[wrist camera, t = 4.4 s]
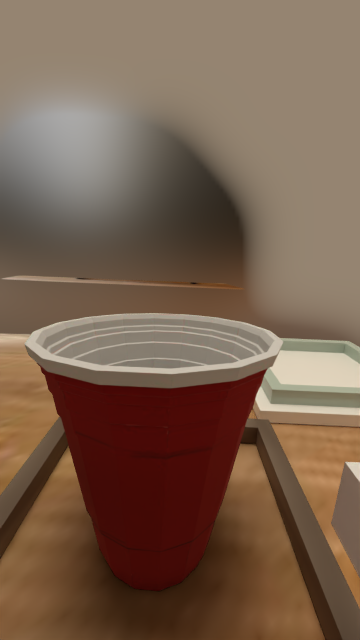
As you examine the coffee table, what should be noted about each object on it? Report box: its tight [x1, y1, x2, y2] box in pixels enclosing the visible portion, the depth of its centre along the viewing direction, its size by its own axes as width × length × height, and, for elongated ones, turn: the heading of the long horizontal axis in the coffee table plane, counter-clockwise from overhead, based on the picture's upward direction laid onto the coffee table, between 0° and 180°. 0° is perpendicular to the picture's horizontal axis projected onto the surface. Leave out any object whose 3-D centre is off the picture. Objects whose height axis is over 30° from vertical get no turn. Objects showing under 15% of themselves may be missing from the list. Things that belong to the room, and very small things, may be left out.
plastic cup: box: [25, 313, 283, 591], centre depth 14 cm, size 11×11×12 cm
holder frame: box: [0, 417, 360, 640], centre depth 16 cm, size 17×17×2 cm
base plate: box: [253, 338, 360, 427], centre depth 35 cm, size 19×19×3 cm
